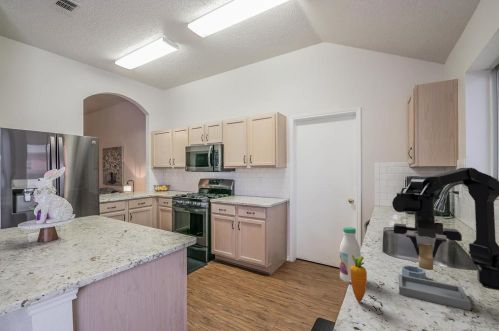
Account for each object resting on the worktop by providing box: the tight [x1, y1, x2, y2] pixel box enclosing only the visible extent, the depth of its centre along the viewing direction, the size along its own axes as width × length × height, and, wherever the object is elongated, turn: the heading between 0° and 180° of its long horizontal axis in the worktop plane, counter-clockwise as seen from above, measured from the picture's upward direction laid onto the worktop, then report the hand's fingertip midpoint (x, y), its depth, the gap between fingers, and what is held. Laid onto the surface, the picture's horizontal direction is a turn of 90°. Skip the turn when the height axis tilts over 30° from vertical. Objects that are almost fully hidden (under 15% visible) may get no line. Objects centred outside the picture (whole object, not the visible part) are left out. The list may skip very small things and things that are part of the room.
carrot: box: [350, 255, 368, 303], centre depth 74 cm, size 5×5×15 cm
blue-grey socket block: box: [401, 264, 427, 280], centre depth 92 cm, size 8×8×3 cm
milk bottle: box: [339, 226, 362, 284], centre depth 90 cm, size 8×8×20 cm
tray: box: [398, 273, 472, 311], centre depth 78 cm, size 18×12×2 cm, turn 57°
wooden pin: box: [417, 242, 434, 271], centre depth 81 cm, size 4×4×8 cm
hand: (425, 256), depth 81 cm, fingers closed on wooden pin, 4 cm apart
